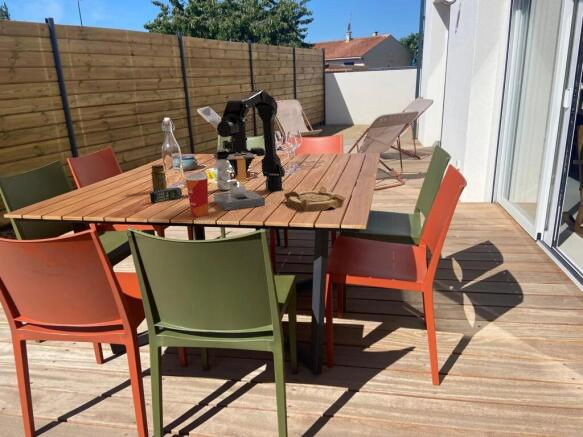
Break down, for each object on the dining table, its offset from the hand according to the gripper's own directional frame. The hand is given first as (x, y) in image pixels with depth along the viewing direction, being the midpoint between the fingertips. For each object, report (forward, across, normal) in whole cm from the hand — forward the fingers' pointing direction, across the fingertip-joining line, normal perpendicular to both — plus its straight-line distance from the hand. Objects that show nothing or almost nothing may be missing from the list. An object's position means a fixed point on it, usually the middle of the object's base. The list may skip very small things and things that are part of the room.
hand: (240, 175), depth 168 cm
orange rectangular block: (+2, 0, 0) cm, 2 cm away
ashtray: (+12, -26, +11) cm, 31 cm away
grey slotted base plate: (+12, 0, -4) cm, 12 cm away
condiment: (+12, +25, -43) cm, 51 cm away
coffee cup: (+12, +18, +5) cm, 22 cm away
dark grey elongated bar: (+12, +24, -24) cm, 37 cm away
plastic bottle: (+12, -2, -31) cm, 33 cm away
